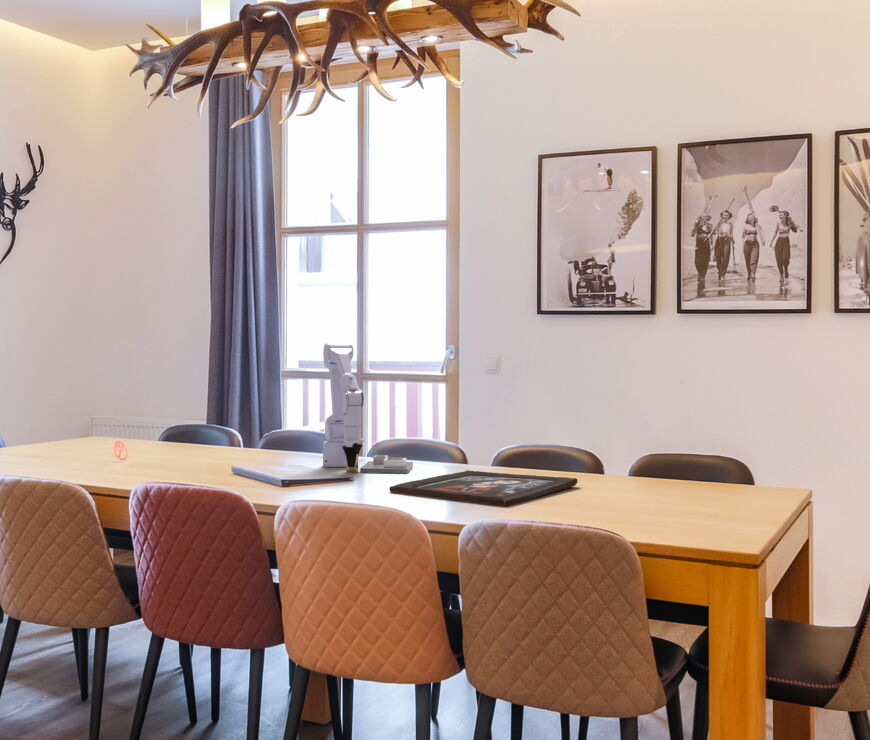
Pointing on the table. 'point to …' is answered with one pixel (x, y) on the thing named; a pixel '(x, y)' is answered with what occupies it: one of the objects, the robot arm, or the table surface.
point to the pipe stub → (353, 469)
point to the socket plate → (386, 465)
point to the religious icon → (484, 487)
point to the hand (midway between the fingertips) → (352, 466)
